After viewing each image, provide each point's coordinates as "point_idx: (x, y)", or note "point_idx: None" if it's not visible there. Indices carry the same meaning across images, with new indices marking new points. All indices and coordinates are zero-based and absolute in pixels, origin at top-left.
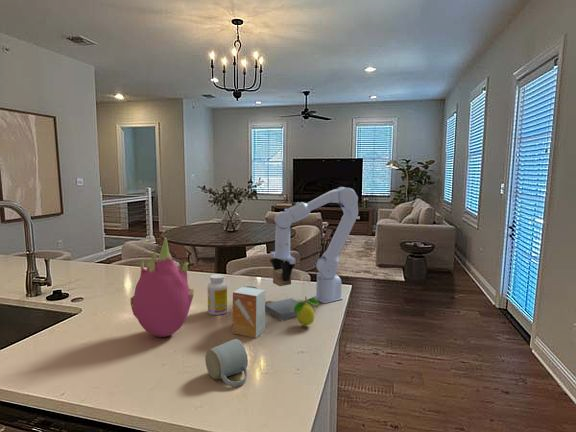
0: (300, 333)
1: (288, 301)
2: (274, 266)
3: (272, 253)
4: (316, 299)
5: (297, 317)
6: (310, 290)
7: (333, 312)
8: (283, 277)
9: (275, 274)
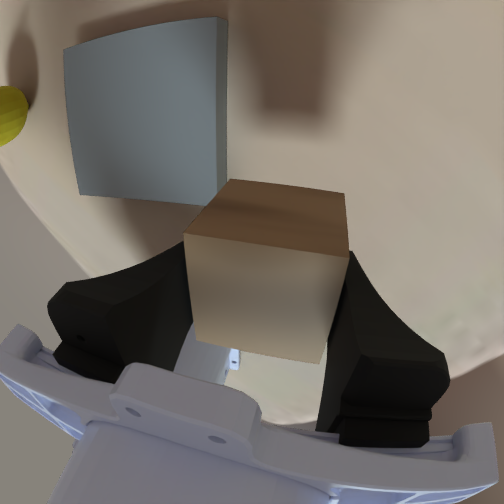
0: (7, 72)
1: (178, 160)
2: (352, 310)
3: (443, 482)
4: None
5: (3, 86)
6: None
7: (85, 252)
8: None
9: (292, 228)
